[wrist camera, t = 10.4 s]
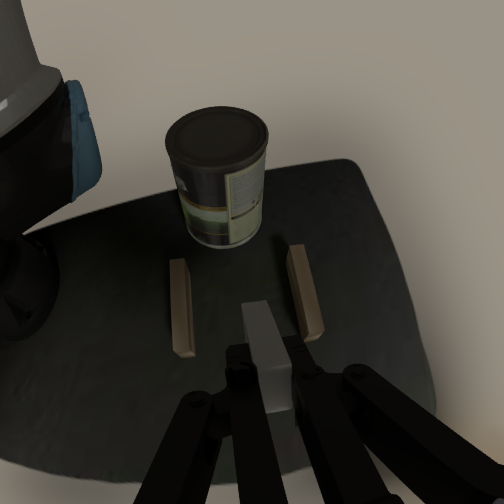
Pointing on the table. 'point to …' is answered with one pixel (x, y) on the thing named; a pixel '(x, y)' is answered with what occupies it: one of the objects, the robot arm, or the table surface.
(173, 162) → the coffee can
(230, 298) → the table surface
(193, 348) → the chute
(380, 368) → the table surface
